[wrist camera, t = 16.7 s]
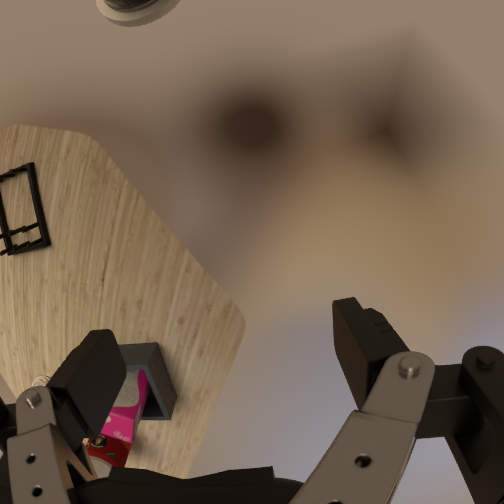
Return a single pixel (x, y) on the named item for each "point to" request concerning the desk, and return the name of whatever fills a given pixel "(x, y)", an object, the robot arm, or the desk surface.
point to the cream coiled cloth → (40, 381)
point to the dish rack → (27, 246)
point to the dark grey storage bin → (152, 379)
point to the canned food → (107, 453)
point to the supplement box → (128, 407)
